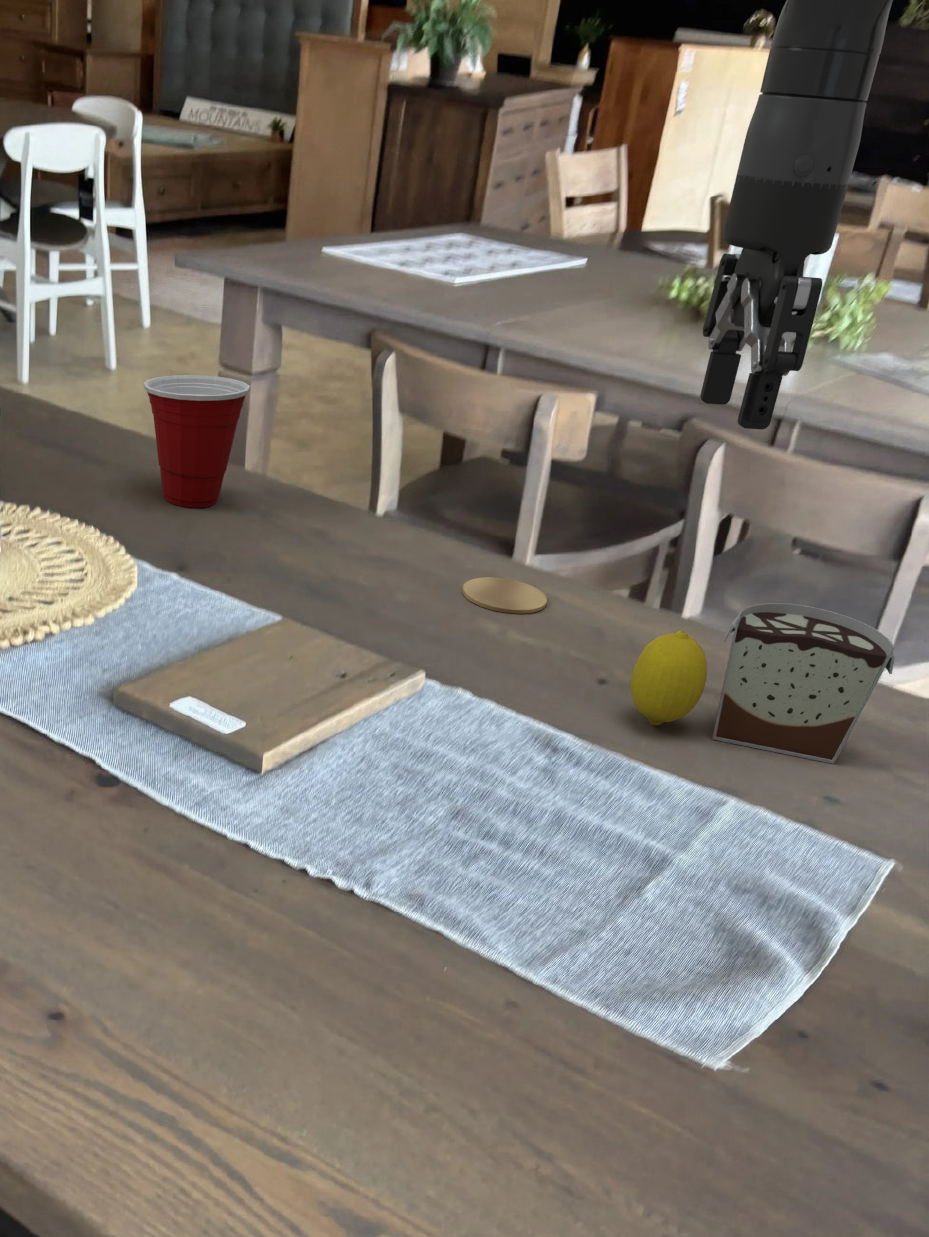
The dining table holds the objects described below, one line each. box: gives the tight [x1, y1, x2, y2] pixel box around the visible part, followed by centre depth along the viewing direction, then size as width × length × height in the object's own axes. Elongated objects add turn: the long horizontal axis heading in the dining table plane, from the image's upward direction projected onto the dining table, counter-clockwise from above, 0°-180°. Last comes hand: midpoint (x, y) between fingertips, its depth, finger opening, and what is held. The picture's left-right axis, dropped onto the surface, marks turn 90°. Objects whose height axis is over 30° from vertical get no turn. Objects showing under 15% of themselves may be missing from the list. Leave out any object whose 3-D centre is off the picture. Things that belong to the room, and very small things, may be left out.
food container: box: [711, 602, 896, 765], centre depth 105 cm, size 12×6×10 cm, turn 74°
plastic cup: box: [142, 374, 251, 509], centre depth 139 cm, size 11×11×12 cm
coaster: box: [461, 576, 548, 615], centre depth 127 cm, size 8×8×1 cm
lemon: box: [630, 630, 708, 727], centre depth 105 cm, size 6×6×8 cm
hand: (732, 415), depth 102 cm, fingers open, 8 cm apart
